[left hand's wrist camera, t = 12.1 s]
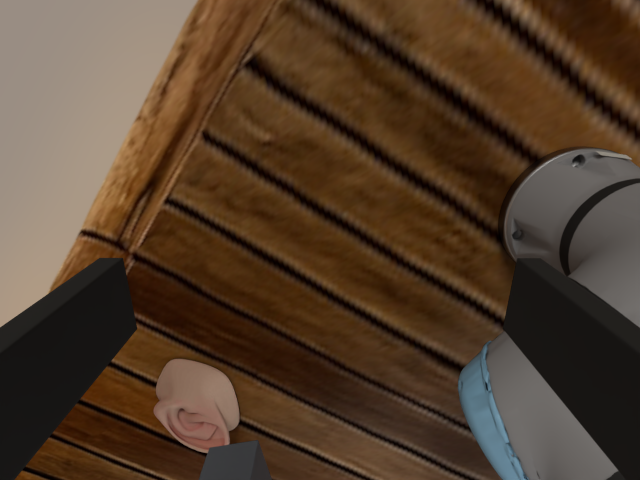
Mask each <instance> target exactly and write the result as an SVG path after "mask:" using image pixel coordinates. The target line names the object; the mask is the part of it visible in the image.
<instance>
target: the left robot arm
mask: <svg viewBox="0 0 640 480" xmlns="http://www.w3.org/2000/svg"><path fill="white" fill-rule="evenodd" d="M629 159H631V158H630V157H628V156H627V155H622V154H618V153H616V152H613V151H610V150H605V149H599V148H593V147H571V148H566V149H562V150H559V151H556V152H553V153H551V154H549V155H547V156H545V157H543V158H541V159H539V160H538V161H536V162H535V163H534V164H532V165H531V166H530V167H528V168H527V169H526V170H525V171H524V172H523V173H522V174H521V175H520V176H519V177H518V178H517V180H516V181H515V182H514V183H513V185H512V186H511V188H510V189H509V191H508V193H507V195H506V197H505V199H504V202H503V204H502V208H501V211H500V217H499V233H500V238H501V241H502V244H503V246H504V248H505V250H506V252H507V253H508V255H509V256H510V257H511V258H512V259H513V260H514V261H515V262H516V267H515V271H514V276H513V281H512V286H511V291H510V296H509V301H508V306H507V311H506V316H505V321H504V326H503V330H504V331H503V332H502V333H501V334H500V335H499V336H498V337H496V338H495V339H494V340H493V341H489V342H487V343H486V344H485V345H484V346H483V349H482V351H481V352H480V353H479V354H478V355H477V356H475V357H474V358H473V359H472V360H471V361H470V362H469V363H468V364H467V365H466V366H465V367H464V368H463V370H462V372H461V373H460V376H459V380H458V391H459V398H460V403H461V406H462V410H463V413H464V415H465V418H466V420H467V422H468V425H469V427H470V429H471V431H472V433H473V435H474V437H475V439H476V441H477V442H478V444H479V446H480V448H481V449H482V451H483V453H484V454H485V456H486V457H487V459H488V461H489V462H490V464H491V465H492V466H493V468H494V469H495V471H496V472H497V473H498V475H499V476H500V477H501V479H502V480H640V168H639V167H638V166H637V165H635V164H634V163H633V162H631V161H630V160H629ZM136 330H137V326H136V321H135V316H134V311H133V306H132V301H131V296H130V291H129V286H128V281H127V276H126V271H125V267H124V262H123V258H99V259H98V260H96V261H95V262H93V263H92V264H91V265H89V266H88V267H86V268H85V269H83V270H82V271H81V272H79V273H78V274H76V275H75V276H73V277H72V278H70V279H69V280H68V281H66V282H65V283H63V284H62V285H60V286H59V287H58V288H56V289H55V290H53V291H52V292H50V293H49V294H48V295H46V296H45V297H43V298H42V299H40V300H39V301H38V302H36V303H35V304H33V305H32V306H30V307H29V308H28V309H26V310H25V311H23V312H22V313H20V314H19V315H18V316H16V317H15V318H13V319H12V320H10V321H9V322H8V323H6V324H5V325H3V326H2V327H0V480H14V479H15V478H16V477H17V476H18V474H19V473H20V472H21V471H22V470H23V468H24V467H25V466H26V465H27V463H28V462H29V461H30V460H31V458H32V457H33V456H34V455H35V454H36V452H37V451H38V450H39V449H40V447H41V446H42V445H43V444H44V443H45V441H46V440H47V439H48V438H49V436H50V435H51V434H52V433H53V431H54V430H55V429H56V428H57V427H58V425H59V424H60V423H61V422H62V420H63V419H64V418H65V417H66V415H67V414H68V413H69V412H70V411H71V409H72V408H73V407H74V406H75V404H76V403H77V402H78V401H79V400H80V398H81V397H82V396H83V395H84V393H85V392H86V391H87V390H88V388H89V387H90V386H91V385H92V384H93V382H94V381H95V380H96V379H97V377H98V376H99V375H100V374H101V373H102V371H103V370H104V369H105V368H106V366H107V365H108V364H109V363H110V361H111V360H112V359H113V358H114V357H115V355H116V354H117V353H118V352H119V350H120V349H121V348H122V347H123V346H124V344H125V343H126V342H127V341H128V339H129V338H130V337H131V336H132V334H133V333H134V332H135V331H136Z"/></svg>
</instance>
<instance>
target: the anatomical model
mask: <svg viewBox="0 0 640 480" xmlns="http://www.w3.org/2000/svg"><path fill="white" fill-rule="evenodd" d="M156 394H157V397H158V398H159V400H160V401H159V402H158V403H157V404H156V405H155V407H154V414H155V416H156V417H157V418H158V419H159V421H160V422H161V423H162V424H163V425H164V426H165V428H166V429H167V430H168V431H169V432H170V433H171V434H172V435H173V436H174V437H175V438H176V439H177V440H178V441H180V442H181V443H182V444H184V445H186V446H188V447H190V448H192V449H195V450H197V451H200V452H204V453H208V450H209V448H210V447H217V446H223V445H229V443H230V436H229V431H231V430H233V429H234V428H235V427H237V425H238V423H239V407H238V402H237V398H236V394H235V391H234V389H233V386H232V384H231V382H230V380H229V379H228V377H227V376H226V375H225V374H224V373H222V372H221V371H219V370H218V369H216V368H213V367H211V366H209V365H206V364H203V363H199V362H196V361H191V360H186V359H173V360H171V361H169V362H168V363H167V364H166V366H165V367H164V369H163V371H162V373H161V375H160V377H159V379H158V382H157V386H156Z"/></svg>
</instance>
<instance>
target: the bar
mask: <svg viewBox="0 0 640 480" xmlns="http://www.w3.org/2000/svg"><path fill="white" fill-rule="evenodd" d="M199 480H272V479H271V476H270V473H269V470H268V467H267V464H266V462H265V459H264V456H263V453H262V450H261V447H260V444H259V442H258V440H256V441H249V442H243V443H236V444H230V445H223V446H217V447H210V448H209V450H208V453H207V456H206V460H205V463H204V466H203V469H202V472H201V475H200V478H199Z"/></svg>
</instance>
